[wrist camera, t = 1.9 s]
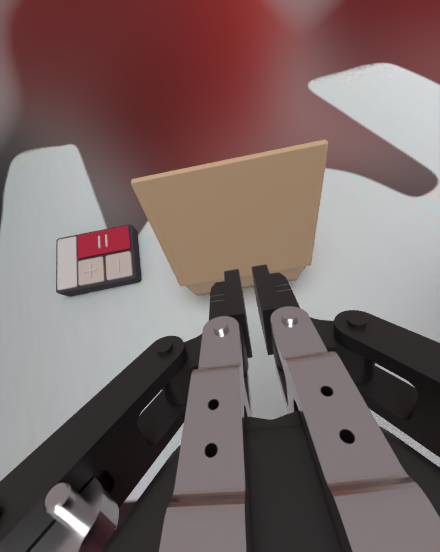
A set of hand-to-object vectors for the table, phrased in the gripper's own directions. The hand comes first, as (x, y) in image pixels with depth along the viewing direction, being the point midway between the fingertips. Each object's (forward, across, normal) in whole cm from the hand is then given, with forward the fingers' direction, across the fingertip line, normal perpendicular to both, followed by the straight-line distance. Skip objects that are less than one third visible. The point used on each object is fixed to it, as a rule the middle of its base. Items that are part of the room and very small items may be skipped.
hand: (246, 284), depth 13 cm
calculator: (+35, +27, +12) cm, 45 cm away
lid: (+17, 0, +3) cm, 18 cm away
